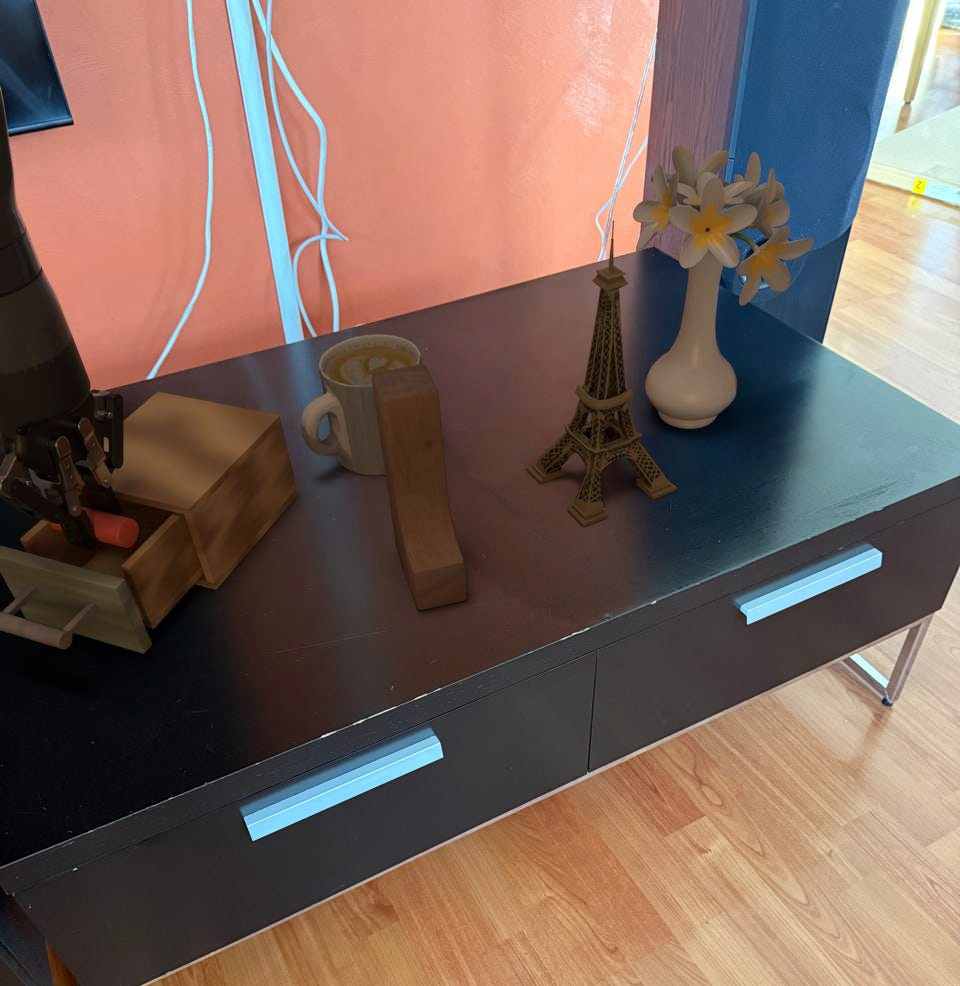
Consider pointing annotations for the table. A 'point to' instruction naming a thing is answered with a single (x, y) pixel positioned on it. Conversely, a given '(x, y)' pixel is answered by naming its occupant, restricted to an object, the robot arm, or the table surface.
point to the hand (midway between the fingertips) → (98, 534)
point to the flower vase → (711, 273)
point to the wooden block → (418, 485)
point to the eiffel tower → (602, 413)
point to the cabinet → (208, 474)
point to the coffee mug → (354, 399)
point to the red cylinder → (111, 528)
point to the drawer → (99, 581)
